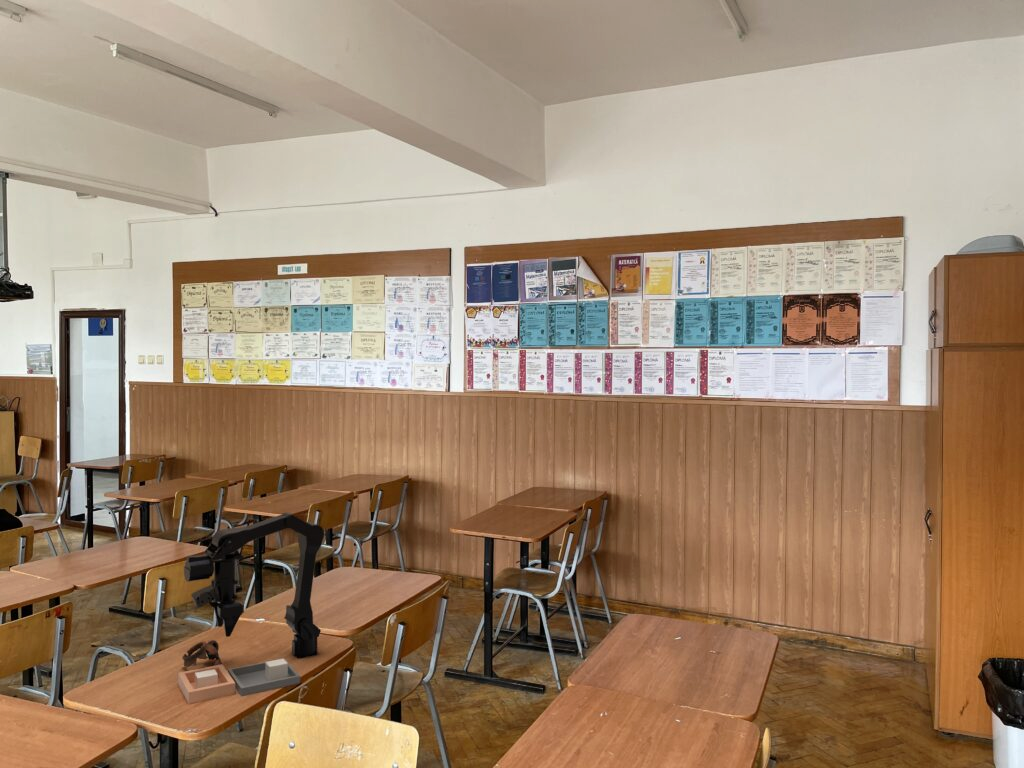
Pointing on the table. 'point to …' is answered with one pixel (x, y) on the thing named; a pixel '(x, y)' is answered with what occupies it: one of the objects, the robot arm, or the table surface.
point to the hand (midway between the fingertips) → (224, 631)
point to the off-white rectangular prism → (276, 669)
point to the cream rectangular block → (206, 678)
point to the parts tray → (259, 679)
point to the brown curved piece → (202, 653)
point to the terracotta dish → (210, 692)
